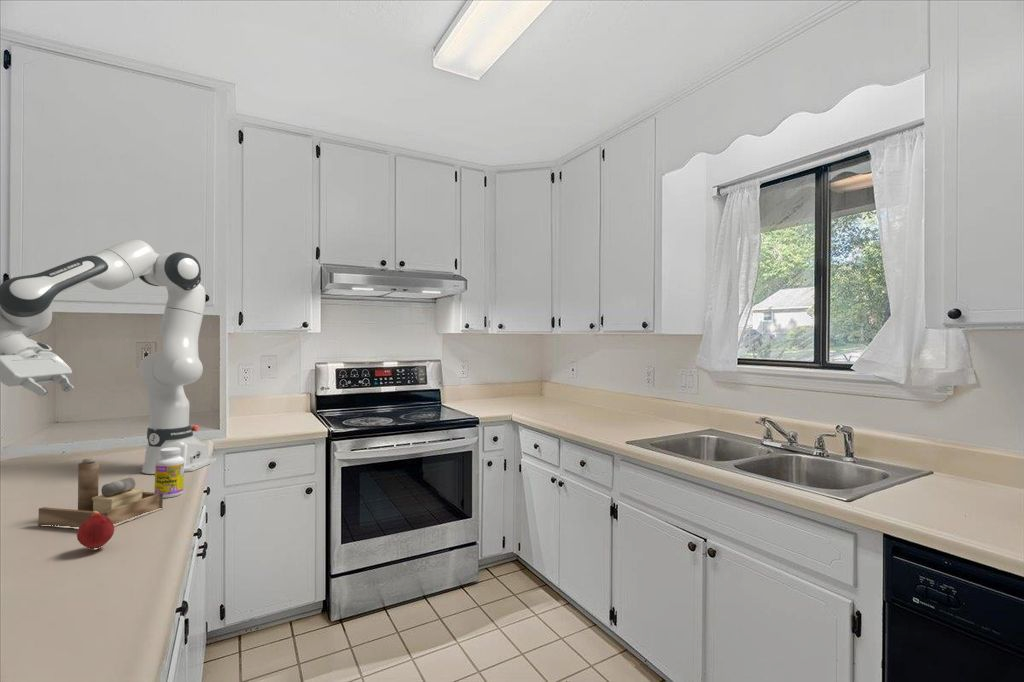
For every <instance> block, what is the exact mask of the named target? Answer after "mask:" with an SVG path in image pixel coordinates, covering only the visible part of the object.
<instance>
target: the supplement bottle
mask: <svg viewBox="0 0 1024 682" xmlns="http://www.w3.org/2000/svg"><path fill="white" fill-rule="evenodd" d="M180 452H181V448H179V447H170V448H163V449H161V450H160V454H161V458H159V459H158V460H157V461H156V465H155V474H154V491H153V493H163V499H169V498H175V497H177V496H180V495H182V494H183V492H184V482H185V481H184V480H185V472H184V459H183V458H182V457H180V456H179V454H180Z"/></svg>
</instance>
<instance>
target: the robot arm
mask: <svg viewBox="0 0 1024 682" xmlns="http://www.w3.org/2000/svg"><path fill="white" fill-rule="evenodd" d="M201 275H202V270H201V264H200V262H199V260H198V259H197V258H196V257H195V256H193V255H192V254H189V253H186V252H178V251H177V252H170V251H169V252H168V251H166V252H158V253H157V252H156V251H155V250H154V248H153V247H152V246H151V245H149V243H147V242H145V241H144V240H141V239H131V240H130V239H129V240H126V241H123V242H119V243H117V244H114V245H111V246H109V247H107V248H105V249H103V250H101V251H98V252H96V253H95V254H91V255H85V256H81V257H79V258H75V259H73V260H70V261H67V262H64V263H62V264H59V265H57V266H55V267H50V268H49V269H46V270H43V271H41V272H38V273H34V274H29V275H20V276H16V277H15V276H14V277H11V278H8V279H6V280H5V281H3V282H2V283H1V284H0V383H1V384H3V385H5V386H7V387H17V386H22V387H23V388H24V389H26V390H29V391H30V392H34V394H35V395H37V397H42V396H46V395H47V394H48V393H49V391H50V389H48V388H47V387H46V386H42V385H40V384H46V383H54V382H55V383H56V384H58V385H60V386H61V387H60V390H61V391H63V393H70V392H72V391H73V390H74V389H75V387H74V385H72V384H71V383H70V379H69V378H68V377H70V376H71V375H72V374H73V370H72V368H71V367H70V366H69V365H68V364H67V363H66V362H65V361H64V359H62V358H61V357H60V356H59V355H58V354H56V353H55V352H52V350H53V348H52V347H51V346H50V345H48V344H45V343H42V342H39V341H36V340H33V339H32V338H29V337H31V336H33V335H37V334H39V333H43V332H44V331H45V330H48V328H49V327H50V326H51V324H52V320H53V302H54V300H55V299H56V298H57V296H58V295H60V294H61V293H63V292H64V293H65V291H69V290H71V289H73V288H76V287H77V286H80V285H82V284H85V283H90V284H91V285H92V286H94V287H96V288H99V289H101V290H106V291H113V290H116V289H119V288H121V287H124V286H125V285H126V286H127V284H129V283H130V282H132V281H135V280H136V279H140V280H141V281H142V282H144V283H145V284H147V285H150V286H153V287H166V290H167V295H168V296H167V301H166V304H165V307H164V312H163V316H162V320H161V325H160V327H159V334H160V336H161V339H162V341H161V342H162V350H161V351H156V352H153V353H151V354H148V355H146V356H145V357H144V358H143V359H141V361H140V363H139V366H138V367H139V368H138V369H139V373H140V375H141V377H142V378H143V380H144V385H145V389H146V393H147V399H148V407H149V408H148V409H149V410H148V411H149V413H148V418H149V419H148V427H147V430H146V431H147V432H146V439H147V441H148V442H147V444H146V449H145V455H144V460H143V461H144V462H143V464H142V465H141V466H142V467H141V473H143V474H149V475H155V465H156V461H157V460H158V459H159V458H161V454H160V450H161V449H163V448H170V447H179V448H181V452H180V454H179V456H180V457H182V458H183V459H184V473H185V472H186V473H187V472H194V471H197V470H199V469H201V468H203V467H206V466H208V465H210V464H212V463H215V462H217V458H216V457H212V456H209V455H210V454H209V447H208V444H206V443H204V442H203V441H202V440H200V439H199V438H198V437H195V435H194V433H193V432H198V431H199V430H200V428H199V425H194V424H192V425H190V406H191V405H190V401H189V399H188V398H187V396H186V393H185V389H184V386H187V385H190V384H194V383H196V382H197V381H198V380H199V379H200V378H201V377H202V375H203V370H204V367H203V363H202V361H201V359H200V355H199V337H200V332H201V328H202V327H201V326H202V322H203V318H204V313H205V309H206V308H205V307H206V288H205V286H203V285H202V284H201V280H202V276H201Z"/></svg>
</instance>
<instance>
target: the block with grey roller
mask: <svg viewBox="0 0 1024 682" xmlns="http://www.w3.org/2000/svg"><path fill="white" fill-rule="evenodd" d="M135 487H136V481H135V479H134V478H133V477H127V478H124V479H123V478H122V479H120V480H116V481H113V482H109V483H105V484H103V486H102V487H101V494H98V496H96V497H93V498H92V500H93V511H98V512H105V511H108V510H111V509H114V508H117V507H120V506H123V505H126V504H129V503H131V502H134V501H137V500H140V499H142V492H145V491H144V490H145V489H144V488H135ZM102 494H103V495H102Z"/></svg>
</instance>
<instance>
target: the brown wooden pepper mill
mask: <svg viewBox="0 0 1024 682" xmlns="http://www.w3.org/2000/svg"><path fill="white" fill-rule="evenodd" d="M77 467H78V471H77V474H78V476H77V510H84V511H93V500H92V498H93V497H96V496H99V482H100V481H99V478H100V477H99V473H100V472H99V471H100V470H99V467H100V461H98V460H96V458H84V459H82V462H80V463H78V465H77Z"/></svg>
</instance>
